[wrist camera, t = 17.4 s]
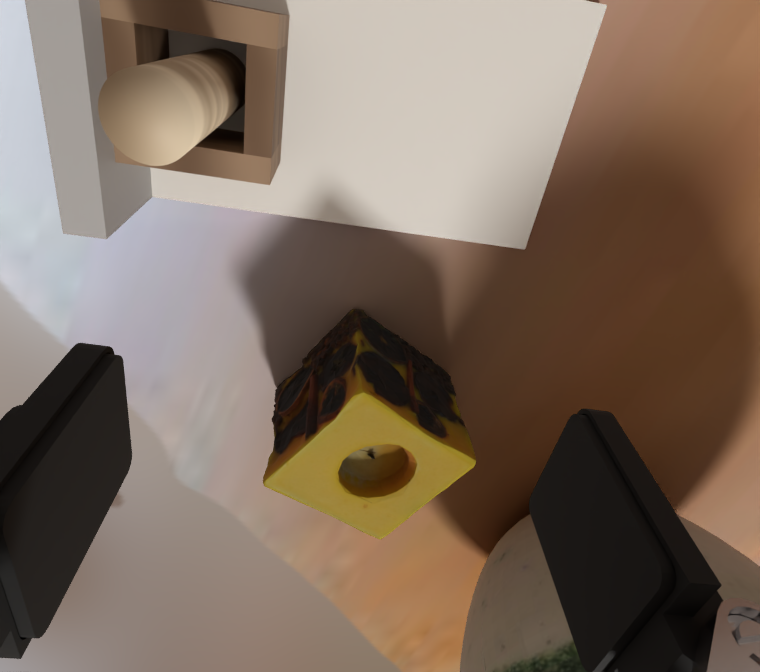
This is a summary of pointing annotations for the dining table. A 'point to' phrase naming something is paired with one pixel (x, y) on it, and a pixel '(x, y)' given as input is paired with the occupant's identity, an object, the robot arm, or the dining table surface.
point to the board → (350, 115)
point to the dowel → (170, 104)
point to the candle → (367, 429)
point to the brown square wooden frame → (263, 76)
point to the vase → (557, 603)
